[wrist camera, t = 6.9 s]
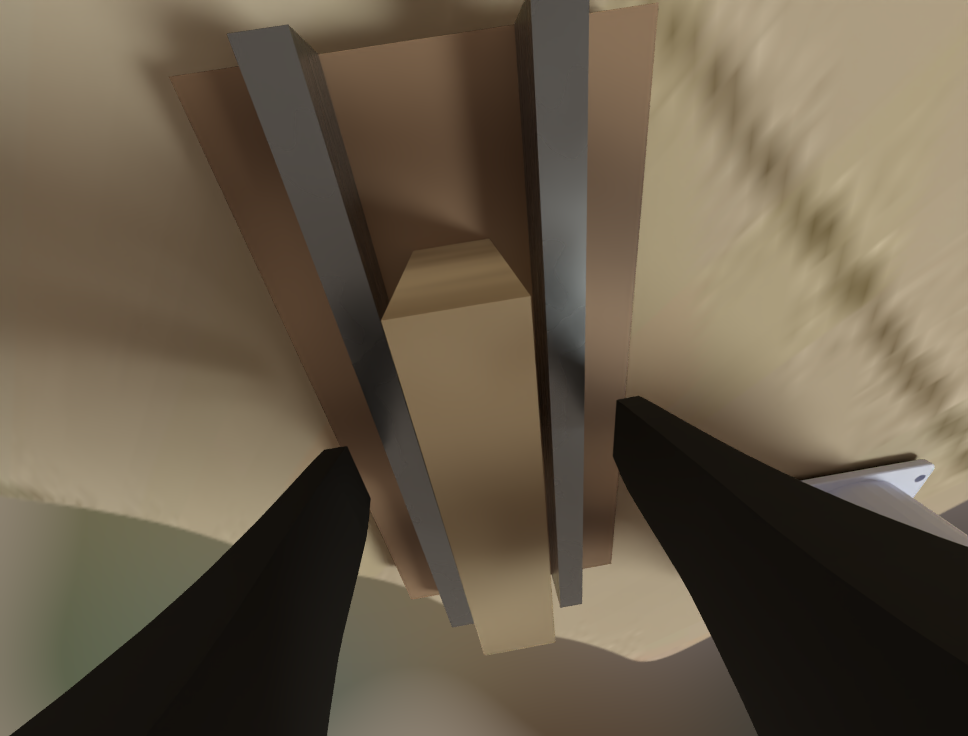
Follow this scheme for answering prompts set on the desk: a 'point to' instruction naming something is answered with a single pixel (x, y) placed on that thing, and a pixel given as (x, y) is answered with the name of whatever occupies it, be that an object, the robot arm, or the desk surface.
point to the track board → (448, 235)
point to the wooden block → (479, 430)
